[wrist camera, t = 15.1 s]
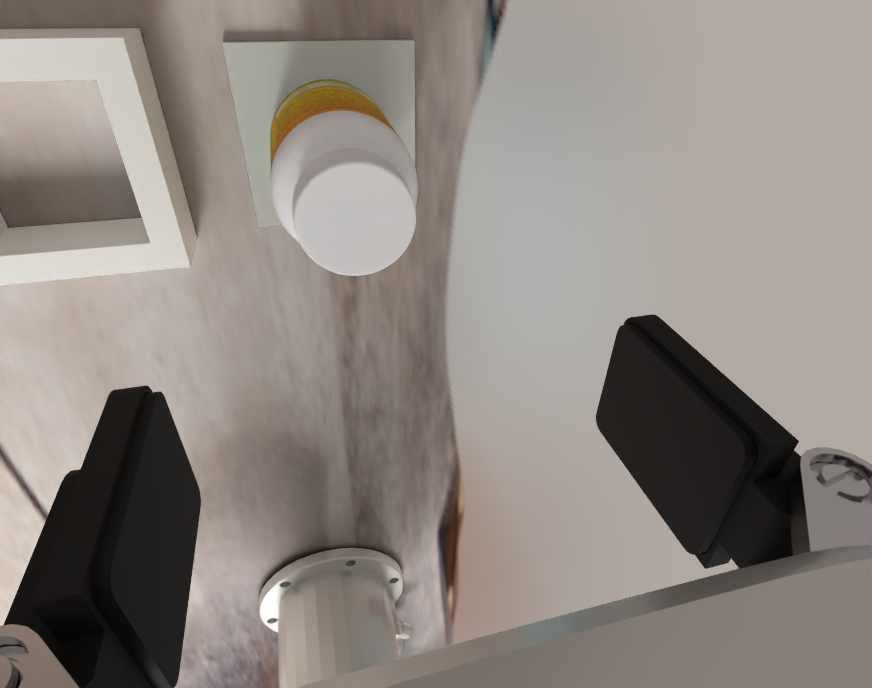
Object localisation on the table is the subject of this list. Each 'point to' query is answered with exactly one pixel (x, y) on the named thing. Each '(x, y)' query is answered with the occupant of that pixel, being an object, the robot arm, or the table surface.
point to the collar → (140, 150)
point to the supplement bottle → (341, 178)
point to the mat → (303, 61)
